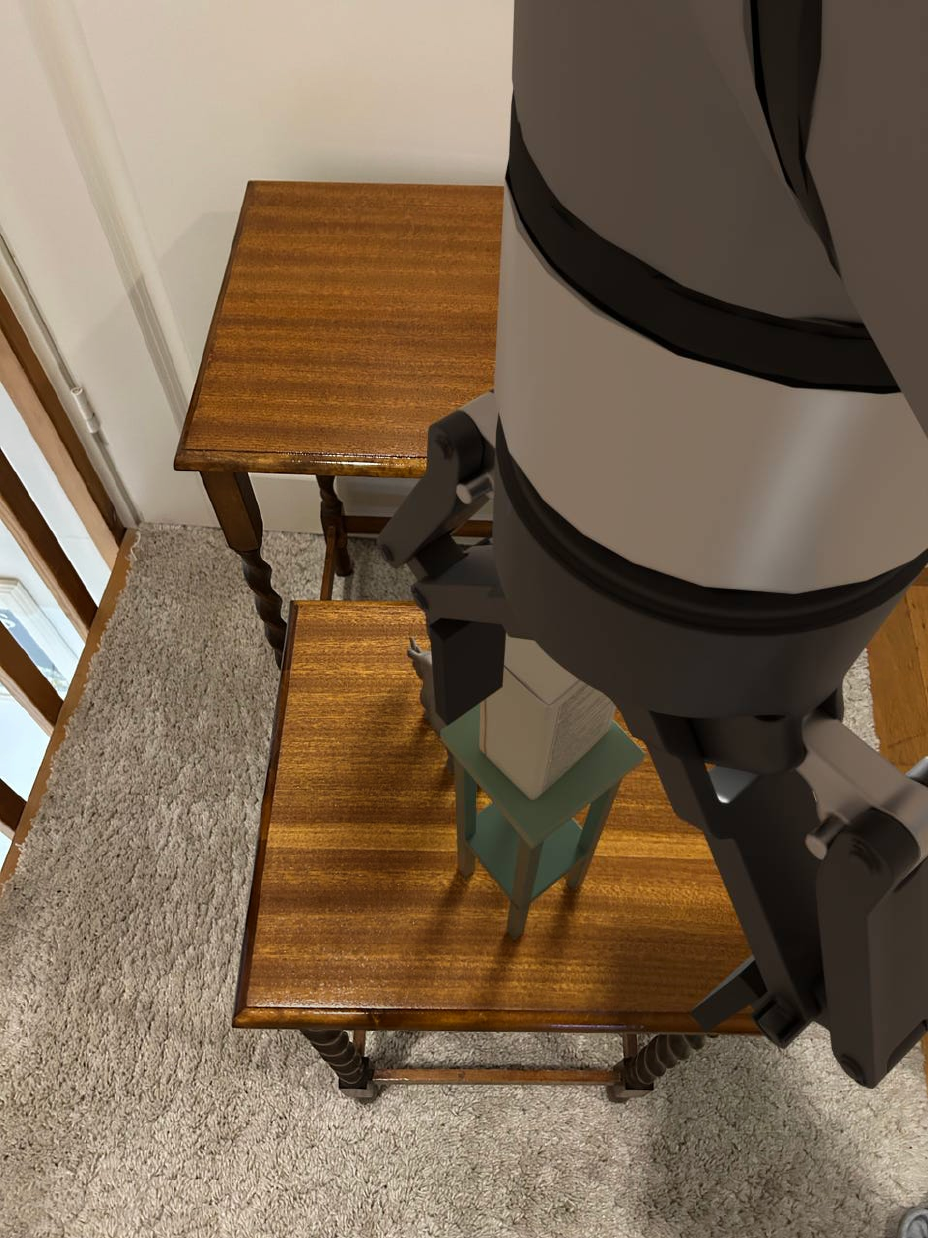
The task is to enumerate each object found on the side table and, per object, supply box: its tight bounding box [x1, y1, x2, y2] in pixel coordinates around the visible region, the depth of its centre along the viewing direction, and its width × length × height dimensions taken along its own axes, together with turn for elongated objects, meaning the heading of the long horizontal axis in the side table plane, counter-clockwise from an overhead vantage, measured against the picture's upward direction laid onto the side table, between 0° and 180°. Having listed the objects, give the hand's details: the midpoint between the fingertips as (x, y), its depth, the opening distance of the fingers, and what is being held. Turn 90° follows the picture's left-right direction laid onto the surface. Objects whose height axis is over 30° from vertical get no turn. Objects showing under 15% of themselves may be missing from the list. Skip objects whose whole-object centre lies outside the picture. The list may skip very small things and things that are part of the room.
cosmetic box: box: [479, 633, 617, 800], centre depth 46 cm, size 6×4×12 cm
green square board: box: [440, 703, 646, 849], centre depth 52 cm, size 8×8×1 cm
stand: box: [453, 756, 624, 941], centre depth 62 cm, size 7×7×25 cm
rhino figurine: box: [406, 635, 454, 774], centre depth 78 cm, size 4×14×6 cm, turn 25°
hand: (587, 835), depth 33 cm, fingers open, 13 cm apart
